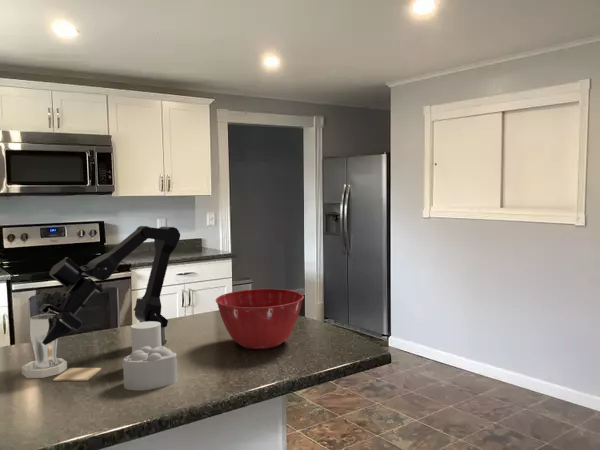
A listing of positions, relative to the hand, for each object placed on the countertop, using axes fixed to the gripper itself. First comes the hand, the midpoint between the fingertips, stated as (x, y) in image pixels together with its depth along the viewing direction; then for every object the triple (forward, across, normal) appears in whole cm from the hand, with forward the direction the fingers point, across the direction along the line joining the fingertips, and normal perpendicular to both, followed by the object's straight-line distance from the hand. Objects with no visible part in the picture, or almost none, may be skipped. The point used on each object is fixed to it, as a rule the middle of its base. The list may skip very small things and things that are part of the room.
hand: (39, 341), depth 143 cm
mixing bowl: (-35, +25, +49) cm, 65 cm away
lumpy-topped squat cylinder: (-6, +30, +18) cm, 36 cm away
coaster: (+2, +10, +11) cm, 15 cm away
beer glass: (+5, 0, +7) cm, 8 cm away
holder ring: (+6, 0, +7) cm, 9 cm away
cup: (-10, +18, +23) cm, 30 cm away
